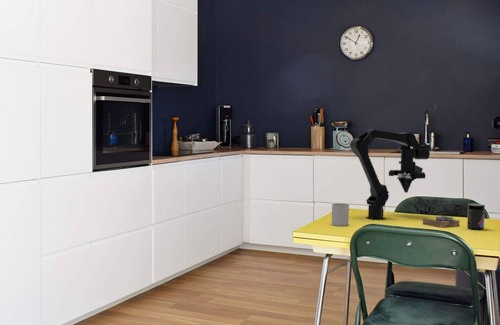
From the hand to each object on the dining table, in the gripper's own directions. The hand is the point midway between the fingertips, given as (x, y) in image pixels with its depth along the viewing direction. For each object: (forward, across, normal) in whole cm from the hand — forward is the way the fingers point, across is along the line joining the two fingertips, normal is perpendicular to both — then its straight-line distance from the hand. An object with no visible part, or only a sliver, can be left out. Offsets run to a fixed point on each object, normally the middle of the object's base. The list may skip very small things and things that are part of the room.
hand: (406, 192), depth 296 cm
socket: (+12, -26, +2) cm, 28 cm away
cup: (+12, -3, +42) cm, 44 cm away
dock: (+12, -23, +2) cm, 26 cm away
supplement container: (+12, -38, -3) cm, 40 cm away
